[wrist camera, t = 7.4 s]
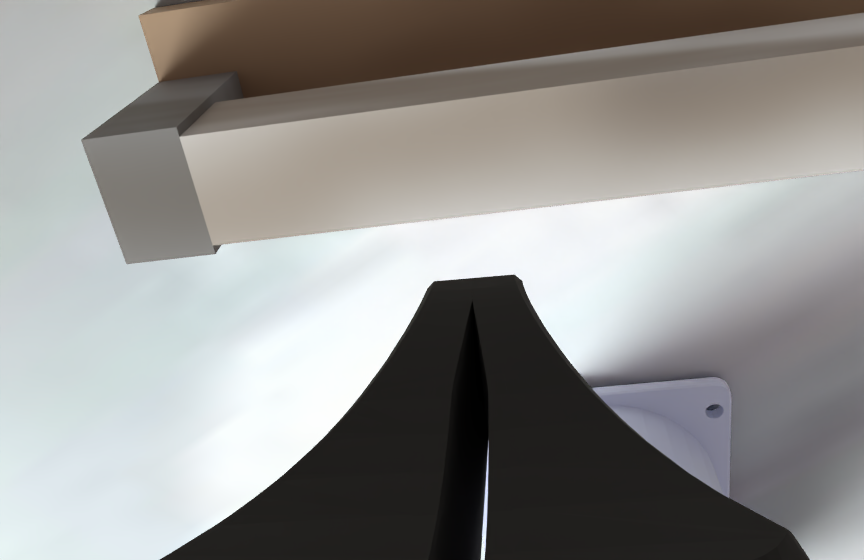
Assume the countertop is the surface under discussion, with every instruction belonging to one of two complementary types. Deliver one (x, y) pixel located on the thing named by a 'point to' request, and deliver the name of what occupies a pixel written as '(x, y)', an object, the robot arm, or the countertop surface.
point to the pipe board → (466, 110)
